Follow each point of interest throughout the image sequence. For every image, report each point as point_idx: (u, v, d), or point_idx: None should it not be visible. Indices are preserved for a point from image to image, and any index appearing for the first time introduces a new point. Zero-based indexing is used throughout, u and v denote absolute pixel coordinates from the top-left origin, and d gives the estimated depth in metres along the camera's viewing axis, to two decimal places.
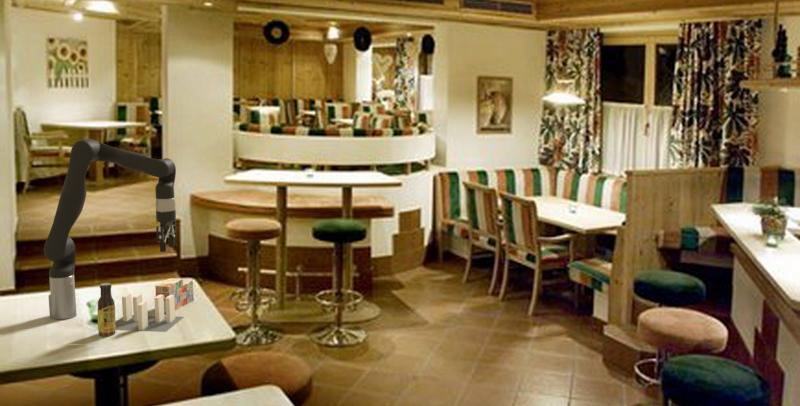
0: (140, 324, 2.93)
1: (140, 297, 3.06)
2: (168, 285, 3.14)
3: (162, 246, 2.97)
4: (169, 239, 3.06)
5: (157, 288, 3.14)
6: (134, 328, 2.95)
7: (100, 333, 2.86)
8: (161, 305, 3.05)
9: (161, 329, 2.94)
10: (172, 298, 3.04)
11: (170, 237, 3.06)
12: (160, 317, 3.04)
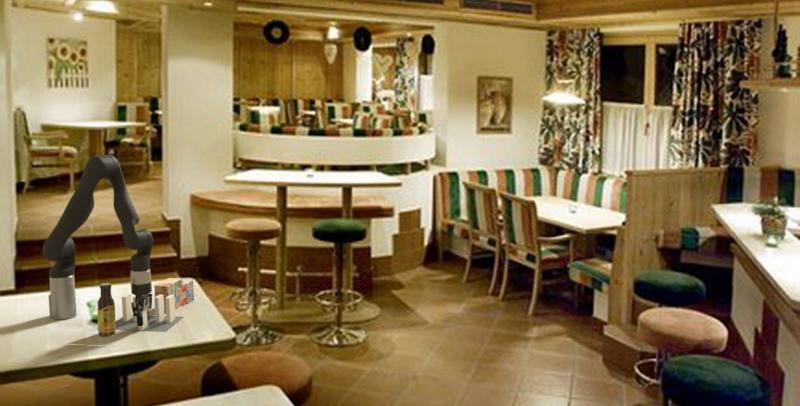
0: None
1: None
2: (167, 285, 3.15)
3: (139, 320, 2.92)
4: None
5: (156, 288, 3.15)
6: (134, 328, 2.95)
7: (100, 333, 2.86)
8: (161, 305, 3.05)
9: (161, 329, 2.94)
10: (172, 298, 3.04)
11: None
12: (160, 317, 3.04)
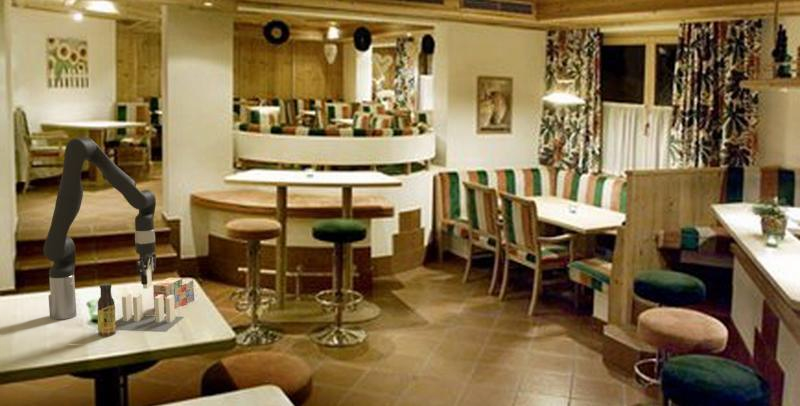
0: None
1: (140, 297, 3.06)
2: (166, 284, 3.15)
3: (143, 279, 2.99)
4: None
5: (155, 287, 3.15)
6: (134, 328, 2.95)
7: (100, 333, 2.86)
8: (161, 305, 3.05)
9: (161, 329, 2.94)
10: (172, 298, 3.04)
11: None
12: (160, 317, 3.04)
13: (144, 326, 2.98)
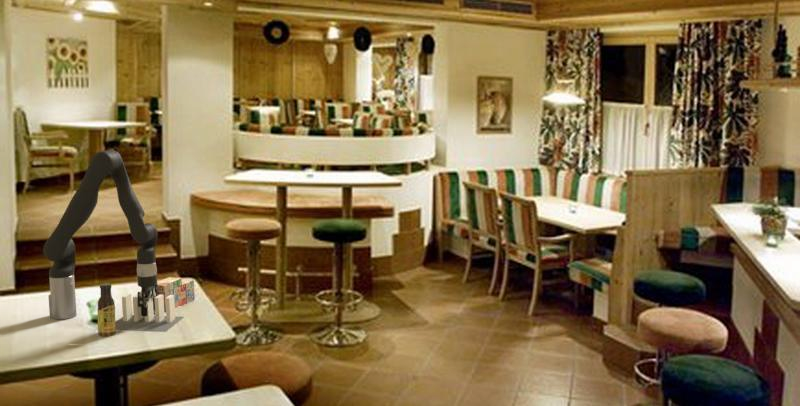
0: (146, 316, 3.03)
1: None
2: (164, 284, 3.16)
3: (143, 311, 3.00)
4: None
5: None
6: (134, 328, 2.95)
7: (100, 333, 2.86)
8: (161, 305, 3.05)
9: (161, 329, 2.94)
10: (172, 298, 3.04)
11: None
12: (160, 317, 3.04)
13: (144, 326, 2.98)
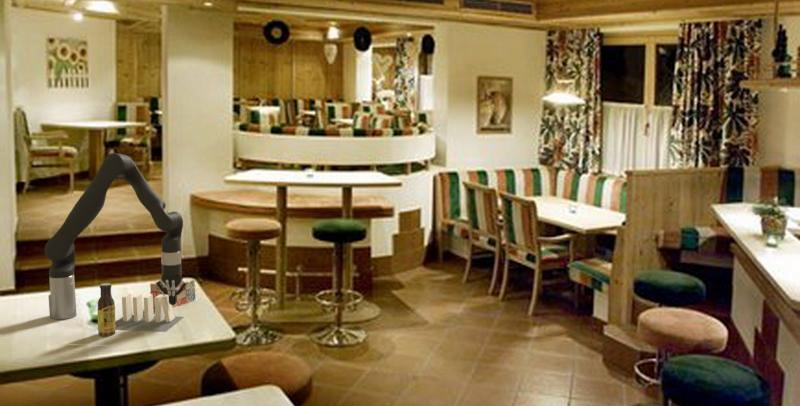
0: (146, 316, 3.03)
1: (140, 297, 3.06)
2: None
3: None
4: None
5: (152, 286, 3.17)
6: (134, 328, 2.95)
7: (100, 333, 2.86)
8: (161, 305, 3.05)
9: (161, 329, 2.94)
10: (168, 298, 3.04)
11: None
12: (160, 317, 3.04)
13: (144, 326, 2.98)
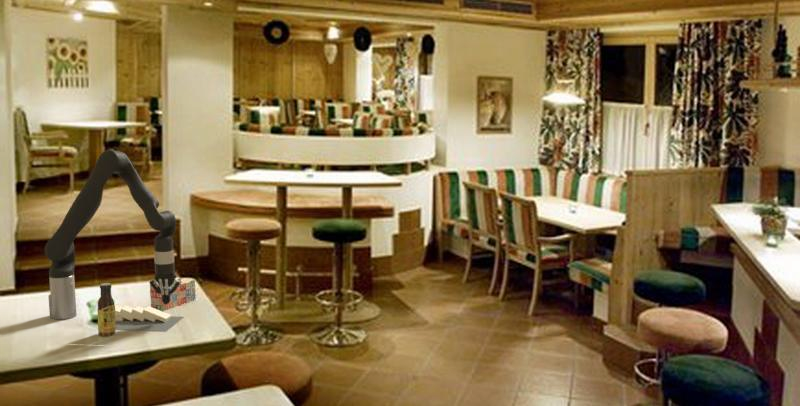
0: (138, 318, 3.04)
1: (117, 306, 3.08)
2: None
3: None
4: None
5: (151, 286, 3.18)
6: (134, 328, 2.95)
7: (100, 333, 2.86)
8: None
9: (161, 329, 2.94)
10: (148, 308, 3.06)
11: None
12: None
13: (144, 326, 2.98)
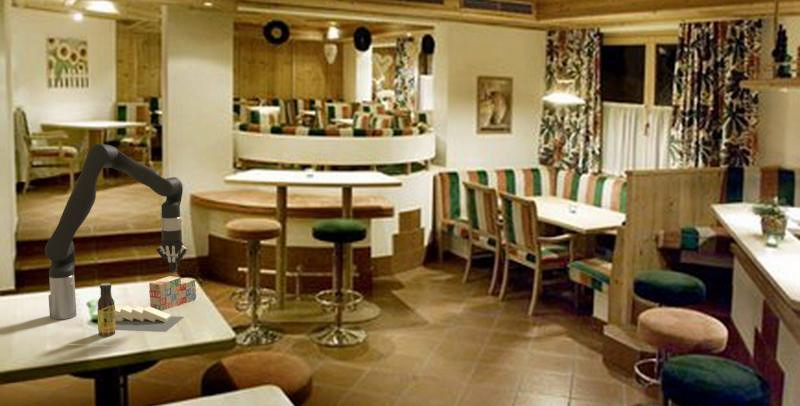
0: (138, 318, 3.04)
1: (117, 306, 3.08)
2: (160, 283, 3.18)
3: None
4: None
5: (150, 285, 3.18)
6: (134, 328, 2.95)
7: (100, 333, 2.86)
8: None
9: (161, 329, 2.94)
10: (148, 308, 3.06)
11: None
12: None
13: (144, 326, 2.98)
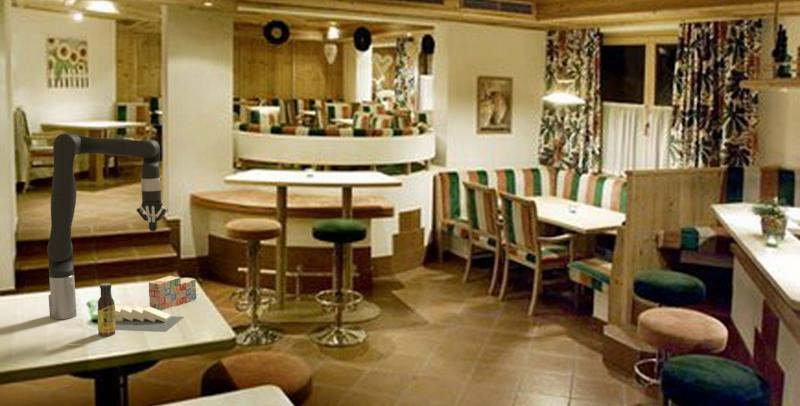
0: (138, 318, 3.04)
1: (117, 306, 3.08)
2: (160, 283, 3.18)
3: None
4: None
5: (150, 285, 3.19)
6: (134, 328, 2.95)
7: (100, 333, 2.86)
8: None
9: (161, 329, 2.94)
10: (148, 308, 3.06)
11: None
12: None
13: (144, 326, 2.98)
